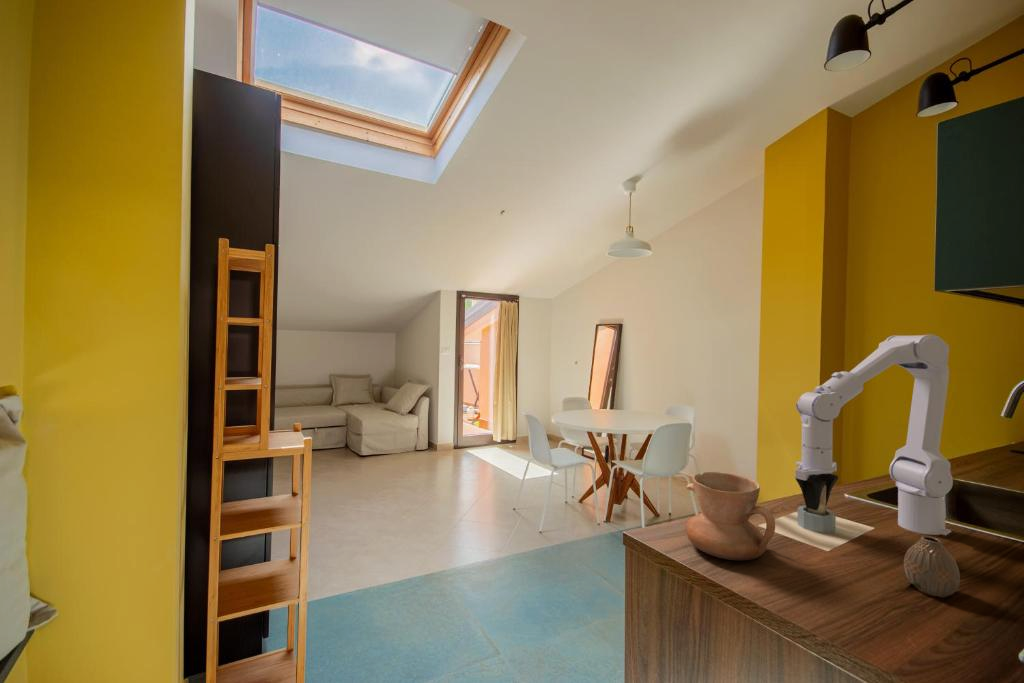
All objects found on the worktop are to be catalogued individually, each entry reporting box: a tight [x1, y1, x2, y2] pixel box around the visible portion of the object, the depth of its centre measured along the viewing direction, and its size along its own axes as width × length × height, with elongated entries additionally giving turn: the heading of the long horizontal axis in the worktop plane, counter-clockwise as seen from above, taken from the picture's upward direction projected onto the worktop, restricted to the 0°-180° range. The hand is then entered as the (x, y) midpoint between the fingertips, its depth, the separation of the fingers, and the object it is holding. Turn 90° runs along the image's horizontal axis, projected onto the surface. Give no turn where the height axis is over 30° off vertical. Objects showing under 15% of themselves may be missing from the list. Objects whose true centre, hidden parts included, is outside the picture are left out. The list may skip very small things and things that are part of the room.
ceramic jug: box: [685, 471, 775, 561], centre depth 88 cm, size 18×14×14 cm
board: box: [757, 510, 876, 552], centre depth 99 cm, size 22×14×1 cm, turn 122°
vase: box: [903, 535, 961, 598], centre depth 75 cm, size 7×7×9 cm
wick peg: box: [808, 485, 827, 515], centre depth 99 cm, size 3×3×8 cm
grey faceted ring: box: [797, 505, 837, 533], centre depth 99 cm, size 7×7×4 cm
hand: (816, 507), depth 99 cm, fingers closed on wick peg, 3 cm apart
